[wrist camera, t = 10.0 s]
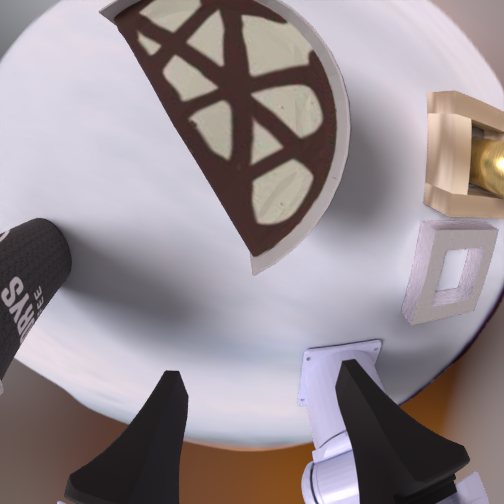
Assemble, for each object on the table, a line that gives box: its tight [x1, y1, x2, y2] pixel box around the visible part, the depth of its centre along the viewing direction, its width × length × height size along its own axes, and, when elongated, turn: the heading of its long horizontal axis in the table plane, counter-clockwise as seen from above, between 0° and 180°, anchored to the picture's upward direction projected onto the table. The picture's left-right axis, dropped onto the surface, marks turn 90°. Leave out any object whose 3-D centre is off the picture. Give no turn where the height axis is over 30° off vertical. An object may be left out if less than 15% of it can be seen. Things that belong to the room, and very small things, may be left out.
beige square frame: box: [423, 91, 504, 219], centre depth 15 cm, size 9×9×4 cm
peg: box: [469, 136, 504, 197], centre depth 14 cm, size 4×4×7 cm
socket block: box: [401, 221, 499, 325], centre depth 20 cm, size 9×9×2 cm
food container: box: [98, 0, 351, 276], centre depth 11 cm, size 12×6×10 cm, turn 28°
